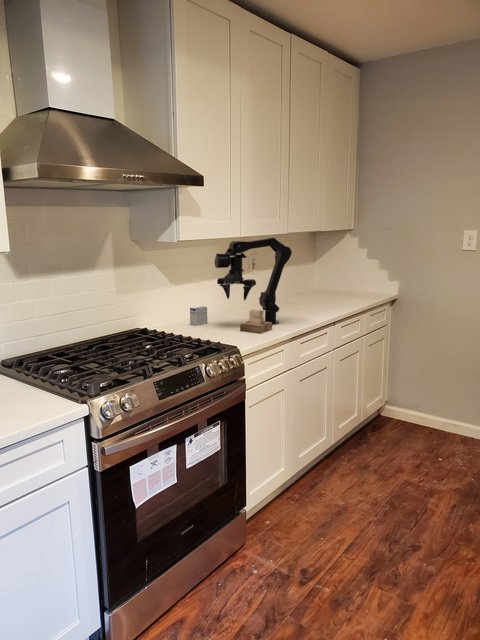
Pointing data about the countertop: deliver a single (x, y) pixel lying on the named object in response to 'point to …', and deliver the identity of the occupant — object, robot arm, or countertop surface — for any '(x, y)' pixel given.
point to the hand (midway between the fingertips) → (236, 299)
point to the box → (198, 315)
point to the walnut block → (256, 327)
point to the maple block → (256, 316)
